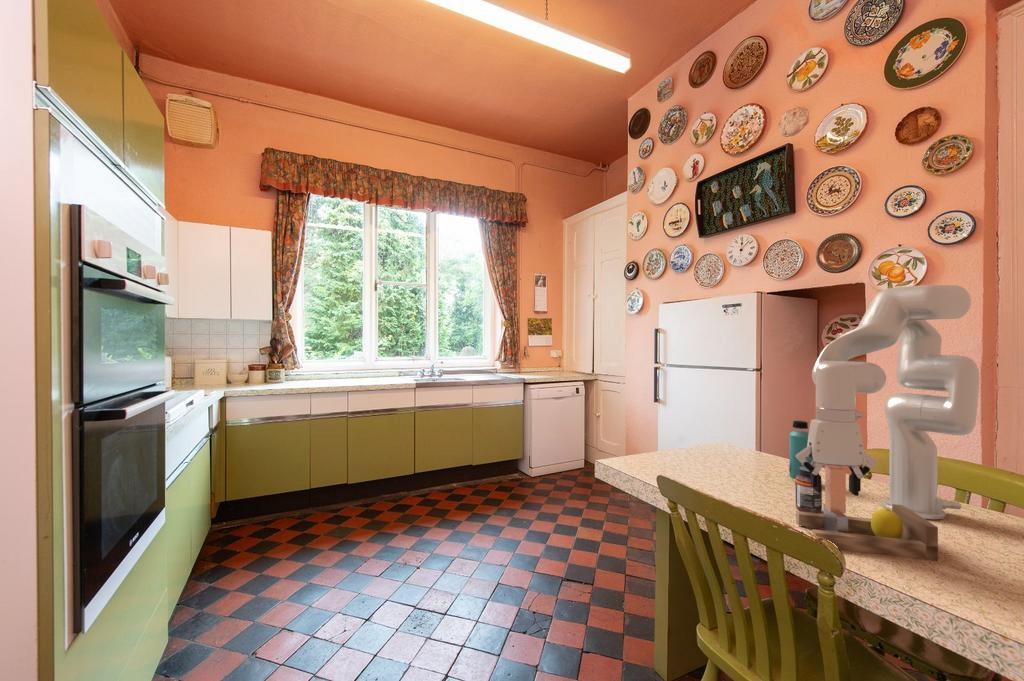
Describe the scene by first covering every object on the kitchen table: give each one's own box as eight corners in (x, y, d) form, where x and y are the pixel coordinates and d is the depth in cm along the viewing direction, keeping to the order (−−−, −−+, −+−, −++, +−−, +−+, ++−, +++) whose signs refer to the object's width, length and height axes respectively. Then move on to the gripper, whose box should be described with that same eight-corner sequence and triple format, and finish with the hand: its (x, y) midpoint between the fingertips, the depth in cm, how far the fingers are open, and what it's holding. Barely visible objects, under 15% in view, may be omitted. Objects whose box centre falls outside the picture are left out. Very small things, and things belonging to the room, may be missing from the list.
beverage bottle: (817, 486, 138) (817, 422, 138) (796, 486, 138) (796, 422, 138) (804, 479, 145) (804, 419, 145) (784, 479, 145) (784, 419, 145)
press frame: (902, 534, 103) (902, 504, 104) (937, 560, 91) (937, 527, 91) (796, 523, 110) (796, 495, 110) (815, 546, 97) (815, 515, 97)
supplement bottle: (801, 504, 122) (801, 464, 122) (825, 511, 117) (826, 469, 117) (791, 509, 119) (791, 467, 119) (815, 516, 114) (816, 473, 114)
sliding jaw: (835, 529, 105) (835, 463, 105) (850, 544, 98) (850, 473, 98) (821, 528, 106) (821, 462, 106) (834, 542, 98) (835, 471, 98)
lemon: (909, 549, 96) (909, 512, 96) (884, 548, 96) (884, 512, 96) (888, 537, 102) (888, 503, 102) (864, 537, 102) (864, 503, 102)
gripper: (871, 415, 103) (871, 490, 103) (787, 411, 108) (787, 483, 108) (888, 420, 96) (888, 502, 96) (798, 416, 101) (798, 493, 101)
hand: (835, 491), depth 102 cm, fingers open, 6 cm apart
